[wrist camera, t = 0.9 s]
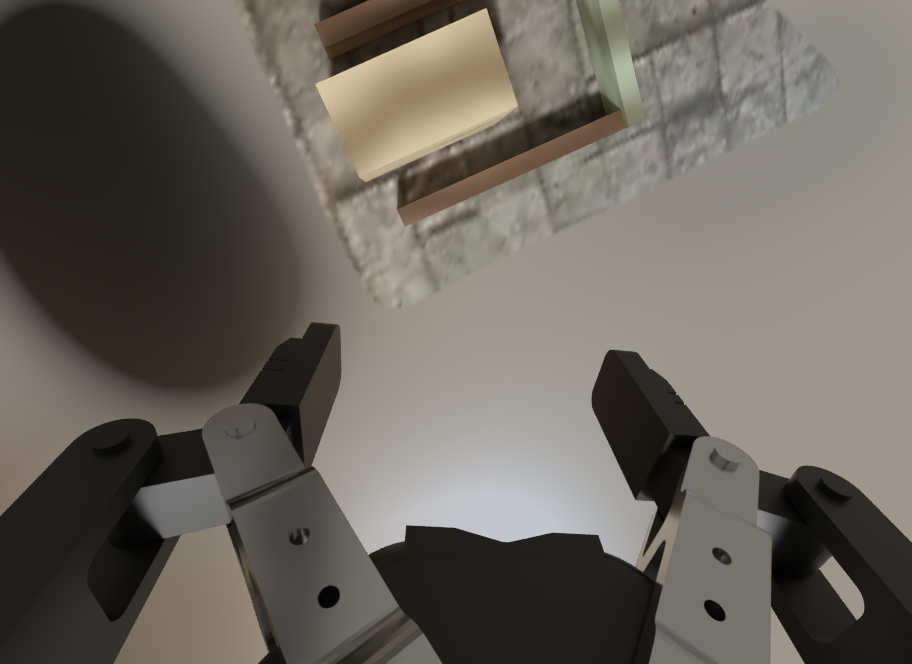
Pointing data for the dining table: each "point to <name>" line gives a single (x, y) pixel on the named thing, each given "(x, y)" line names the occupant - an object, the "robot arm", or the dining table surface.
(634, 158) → the dining table surface
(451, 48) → the maple block
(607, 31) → the wooden tray frame
